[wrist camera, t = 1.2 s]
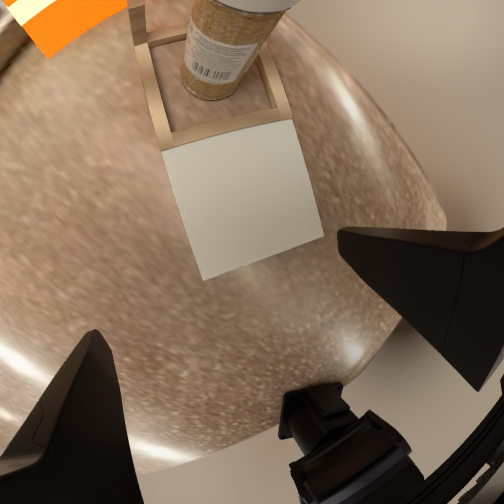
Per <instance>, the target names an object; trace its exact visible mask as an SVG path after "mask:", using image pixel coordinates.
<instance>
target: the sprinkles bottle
mask: <svg viewBox="0 0 504 504" xmlns="http://www.w3.org/2000/svg"><path fill="white" fill-rule="evenodd" d="M297 2H299V0H195V1H194V5H193V8H192V11H191V16H190V22H189V27H188V33H187V39H186V46H185V54H184V59H185V61H184V65H183V67H182V71H181V77H182V82H183V85H184V87H185V88H186V89H187V91H188V92H189V93H191V94H192V95H194V96H196V97H198V98H200V99H204V100H218V99H222V98H224V97H227V96H228V95H230V94H232V93H233V92H234V91H235V89H236V88H237V87H238V85H239V82H240V79H241V77H242V76H243V74H244V73H245V72H246V71H247V70H248V68H249V67H250V65H251V64H252V62H253V61H254V59H255V58H256V56H257V55H258V53H259V52H260V50H261V48H262V45H263V44H264V43H265V41H266V40H267V38H268V36H269V35H270V33H271V32H272V31H273V29H274V28H275V26H276V24H277V23H278V21H279V20H280V19H281V17H282V16H283V14H284V13H285V11H287V10H288V9H290V8H291V7H292V6H294V5H295V4H296V3H297Z"/></svg>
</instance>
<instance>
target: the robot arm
mask: <svg viewBox="0 0 504 504" xmlns="http://www.w3.org/2000/svg"><path fill="white" fill-rule="evenodd" d="M337 241H338V251H339V254H340V255H341V257H342V258H343V259H344V260H345V261H346V262H347V263H348V264H349V266H350V267H351V268H352V269H353V270H354V271H355V272H356V273H357V274H358V275H359V277H360V278H361V279H362V280H363V281H364V282H365V283H366V284H367V285H368V286H369V287H371V288H372V289H373V290H374V291H375V292H376V293H377V294H378V295H379V296H380V297H382V298H383V299H384V300H385V301H386V302H387V303H388V304H389V305H390V306H391V307H392V308H393V309H394V310H396V311H397V312H398V313H399V314H400V315H401V316H402V317H403V318H404V319H405V320H406V321H407V322H408V323H409V324H410V325H411V326H413V328H415V329H416V330H417V331H418V332H419V333H420V334H421V335H422V336H423V337H424V338H425V339H426V340H427V341H428V342H429V343H430V344H431V345H432V346H433V347H434V348H435V349H436V350H437V351H438V352H439V353H441V355H442V356H443V357H444V358H445V359H446V360H447V361H448V362H449V363H450V364H451V365H452V366H453V367H454V368H455V369H456V370H457V372H458V373H459V374H461V376H462V377H463V378H464V379H465V380H466V381H467V382H468V383H469V384H470V385H471V386H472V387H473V388H474V389H475V390H476V391H477V392H479V391H480V390H481V388H482V387H483V386H484V384H485V383H486V382H487V381H488V379H489V378H490V377H491V375H492V374H493V373H494V371H495V370H496V369H497V367H498V366H499V364H500V363H501V362H502V360H503V359H504V228H502V229H500V230H497V231H493V232H457V231H435V230H430V231H429V230H416V229H397V228H374V227H344V228H342V229H339V230H338V232H337ZM500 383H501V389H502V396H501V397H500V398H499V400H498V401H497V403H496V404H495V405H494V407H493V408H492V409H491V411H490V412H489V413H488V414H487V416H486V417H485V418H484V419H483V421H482V422H481V423H480V424H479V425H478V427H477V428H476V429H475V431H473V433H472V434H471V435H470V436H469V437H468V438H467V439H466V440H465V441H464V443H463V444H462V445H461V446H460V447H459V448H458V449H457V450H456V451H455V452H454V453H453V454H452V455H451V456H450V457H449V458H448V459H447V460H446V461H445V462H444V463H443V464H442V465H441V466H440V467H439V468H438V469H437V470H435V471H434V472H433V473H432V474H431V475H430V476H429V477H428V478H426V479H425V480H424V476H423V475H422V473H421V472H420V470H419V469H418V467H417V466H416V465H415V464H414V462H413V461H412V460H411V459H410V457H409V456H408V455H409V454H410V453H411V452H412V450H411V448H410V446H409V445H408V443H407V441H406V440H405V439H404V438H403V437H402V435H401V434H400V433H399V432H398V431H397V430H396V429H395V428H394V427H392V426H391V425H390V424H388V423H387V422H386V421H384V420H383V419H382V418H380V417H379V416H378V415H376V414H375V413H374V412H372V411H371V410H368V411H367V412H366V413H365V414H364V415H363V416H362V417H361V418H359V419H358V417H356V415H355V414H354V413H353V412H352V411H351V410H350V407H349V405H348V404H347V403H346V402H345V401H344V400H343V399H342V398H341V393H342V390H343V384H342V383H340V382H337V383H333V384H328V385H324V386H319V387H314V388H309V389H304V390H299V391H294V392H288V393H286V394H285V395H284V397H283V404H282V411H281V418H280V425H279V431H278V437H279V439H281V440H283V439H288V438H294V439H295V441H296V442H297V444H298V446H299V447H300V449H301V451H302V452H303V454H304V455H305V456H304V457H302V458H300V459H299V460H297V461H295V462H292V463H290V464H289V466H290V468H291V471H290V472H291V476H292V478H293V480H294V482H295V485H296V487H297V490H298V494H299V500H300V503H301V504H447V503H448V502H449V501H451V500H452V499H453V497H455V495H456V494H458V493H459V492H460V491H461V490H462V489H463V488H464V487H465V485H466V484H467V483H468V482H469V481H470V480H471V479H472V478H473V477H474V476H475V475H476V474H477V473H478V471H479V470H480V469H481V468H482V467H483V466H484V464H485V463H487V464H489V466H490V468H489V469H488V470H487V471H486V472H484V473H483V474H482V475H481V476H480V477H479V478H478V479H477V480H476V482H477V484H476V485H475V486H474V487H472V488H471V489H470V490H469V491H467V492H466V493H465V494H464V495H462V496H461V497H460V498H459V499H458V501H459V503H457V504H504V375H503V376H502V378H501V380H500ZM288 397H290V398H288ZM0 504H144V502H143V498H142V495H141V491H140V488H139V484H138V480H137V476H136V472H135V468H134V464H133V460H132V455H131V451H130V446H129V441H128V436H127V430H126V424H125V419H124V412H123V406H122V398H121V392H120V387H119V382H118V378H117V374H116V369H115V364H114V360H113V355H112V351H111V349H110V347H109V345H108V344H107V342H106V341H105V339H104V338H103V336H102V335H101V333H100V332H99V331H98V330H97V329H94V330H92V331H89V332H87V333H86V334H85V335H84V336H83V338H82V339H81V340H80V342H79V343H78V344H77V346H76V347H75V348H74V350H73V351H72V353H71V354H70V355H69V357H68V358H67V359H66V361H65V362H64V364H63V365H62V366H61V368H60V369H59V371H58V372H57V374H56V375H55V377H54V378H53V379H52V381H51V382H50V384H49V385H48V387H47V388H46V390H45V391H44V393H43V394H42V396H41V397H40V399H39V401H38V402H37V403H36V405H35V407H34V408H33V410H32V411H31V413H30V414H29V416H28V417H27V419H26V420H25V422H24V423H23V425H22V426H21V428H20V429H19V430H18V432H17V433H16V435H15V436H14V438H13V439H12V440H11V442H10V443H9V445H8V446H7V448H6V449H5V451H4V453H3V454H2V455H1V456H0Z"/></svg>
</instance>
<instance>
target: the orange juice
mask: <svg viewBox="0 0 504 504" xmlns="http://www.w3.org/2000/svg"><path fill="white" fill-rule="evenodd" d="M3 1H4V3H5V4H6V6H7V8H8V9H9V11H10V12H11V13H12V15H13V16H14V17H15V19H16V20H17V21H18V23H19V24H20V25H21V26H22V27H23V28H24V29H25V31H26V32H27V33H28V34H29V36H30V37H31V38H32V39H33V41H34V42H35V43H36V45H37V46H38V47H39V48H40V50H41V51H42V52H43V53H44V55H45V56H46V57H47V58H49V57H51V56H52V55H53V54H55V53H56V52H57V51H58V50H60V49H61V48H62V47H64V46H65V45H66V44H68V43H69V42H71V41H72V40H73V39H75V38H76V37H78V36H79V35H81V34H82V33H84V32H85V31H87V30H88V29H90V28H91V27H93V26H94V25H96V24H98V23H99V22H101V21H102V20H104V19H106V18H107V17H109V16H111V15H113V14H114V13H116V12H118V11H120V10H122V9H124V8H125V7H127V0H3Z"/></svg>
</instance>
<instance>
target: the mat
mask: <svg viewBox="0 0 504 504" xmlns="http://www.w3.org/2000/svg"><path fill="white" fill-rule="evenodd" d="M161 153H162V157H163V160H164V163H165V167H166V170H167V173H168V177H169V180H170V183H171V187H172V190H173V193H174V196H175V199H176V203H177V206H178V209H179V212H180V215H181V218H182V221H183V224H184V227H185V230H186V233H187V236H188V239H189V242H190V245H191V248H192V251H193V254H194V257H195V259H196V262H197V265H198V268H199V271H200V274H201V276H202V279H203V281H205V280H208V279H210V278H213V277H216V276H219V275H221V274H224V273H227V272H229V271H232V270H235V269H238V268H240V267H243V266H246V265H248V264H251V263H254V262H257V261H259V260H262V259H265V258H267V257H270V256H273V255H275V254H278V253H281V252H283V251H286V250H289V249H291V248H294V247H297V246H299V245H302V244H305V243H307V242H310V241H313V240H315V239H318V238H321V237H323V236H324V234H323V229H322V225H321V221H320V217H319V213H318V209H317V205H316V201H315V197H314V194H313V190H312V186H311V182H310V179H309V175H308V172H307V168H306V164H305V161H304V158H303V154H302V151H301V147H300V144H299V141H298V137H297V134H296V131H295V128H294V125H293V121H292V119H288V120H282V121H277V122H272V123H267V124H262V125H258V126H253V127H249V128H244V129H240V130H236V131H232V132H228V133H224V134H220V135H216V136H212V137H209V138H205V139H202V140H198V141H195V142H191V143H188V144H184V145H181V146H178V147H175V148H171V149H168V150H165V151H162V152H161Z"/></svg>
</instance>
